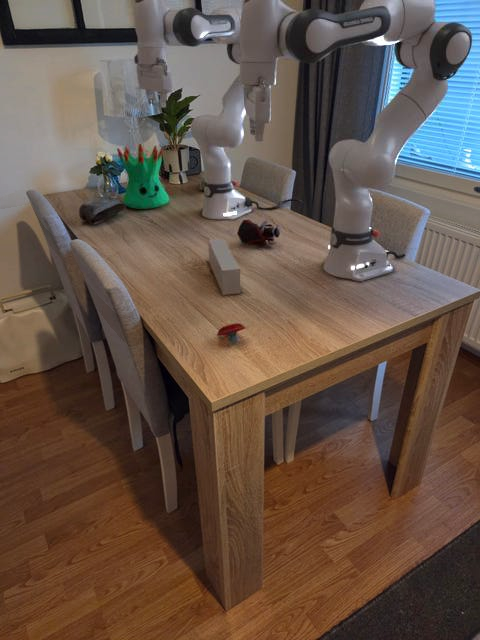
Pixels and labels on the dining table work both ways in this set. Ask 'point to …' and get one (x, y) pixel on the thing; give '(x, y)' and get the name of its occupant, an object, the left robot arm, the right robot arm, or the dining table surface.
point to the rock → (100, 209)
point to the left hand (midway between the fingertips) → (157, 105)
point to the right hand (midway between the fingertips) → (256, 137)
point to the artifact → (202, 184)
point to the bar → (224, 267)
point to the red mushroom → (231, 331)
